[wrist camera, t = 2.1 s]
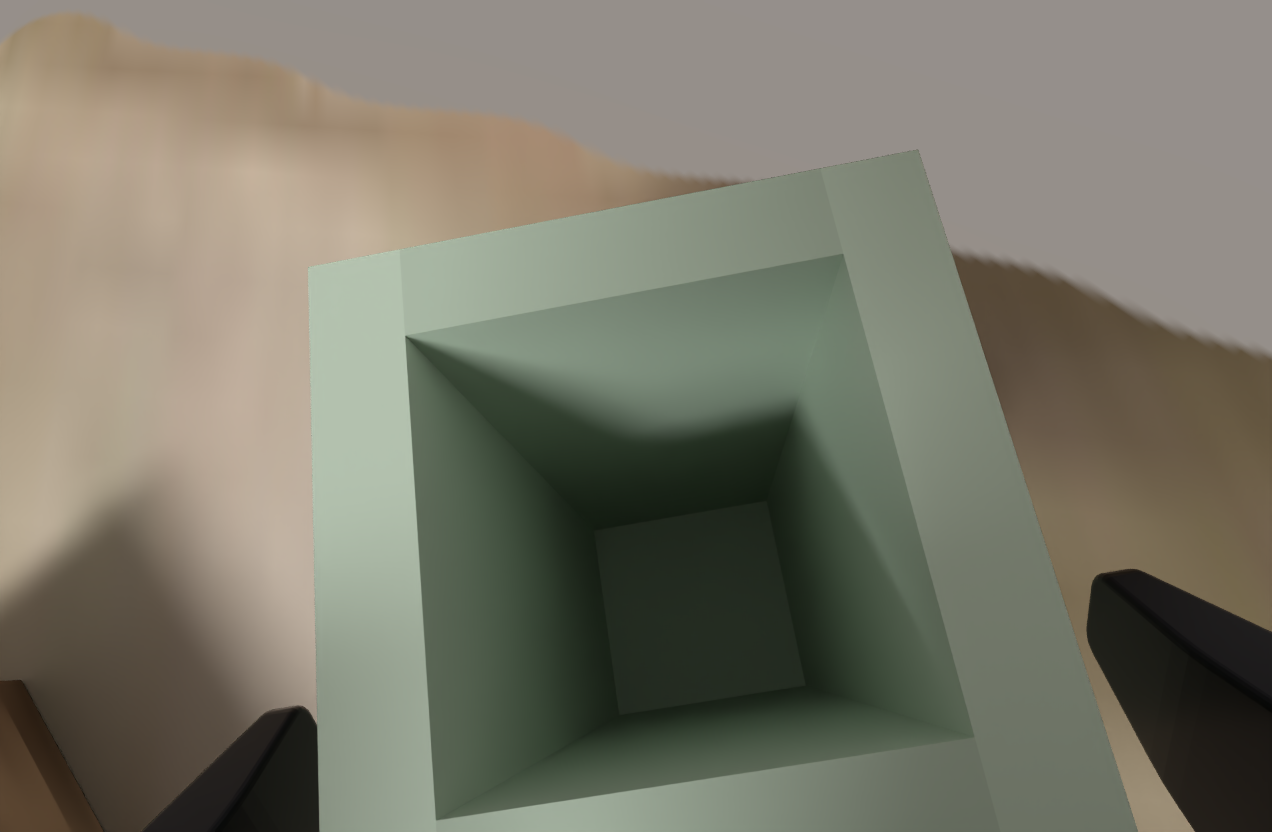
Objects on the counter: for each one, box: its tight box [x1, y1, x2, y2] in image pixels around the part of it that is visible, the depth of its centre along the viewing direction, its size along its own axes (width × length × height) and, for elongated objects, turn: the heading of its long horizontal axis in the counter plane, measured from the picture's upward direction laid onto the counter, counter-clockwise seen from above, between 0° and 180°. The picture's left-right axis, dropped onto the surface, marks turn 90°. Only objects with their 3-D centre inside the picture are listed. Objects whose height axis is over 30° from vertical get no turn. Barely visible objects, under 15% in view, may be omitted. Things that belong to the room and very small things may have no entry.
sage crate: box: [308, 150, 1138, 832], centre depth 12 cm, size 6×6×12 cm
